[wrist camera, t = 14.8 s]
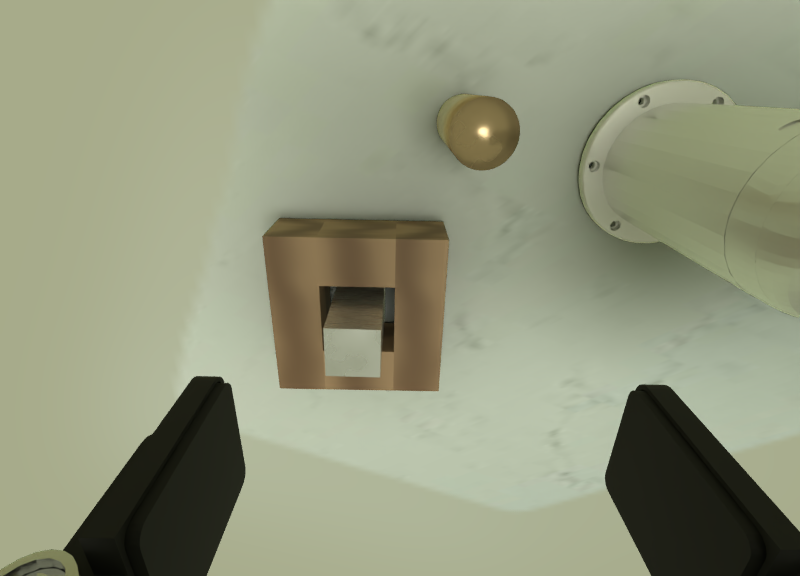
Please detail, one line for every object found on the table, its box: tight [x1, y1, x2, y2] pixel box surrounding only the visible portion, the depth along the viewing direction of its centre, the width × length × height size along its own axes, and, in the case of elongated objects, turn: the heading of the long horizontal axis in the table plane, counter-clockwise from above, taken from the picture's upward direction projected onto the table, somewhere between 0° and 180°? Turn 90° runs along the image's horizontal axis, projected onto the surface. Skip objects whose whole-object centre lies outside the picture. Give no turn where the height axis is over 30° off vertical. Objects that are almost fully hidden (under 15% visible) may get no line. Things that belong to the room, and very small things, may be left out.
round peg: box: [437, 94, 520, 170], centre depth 29 cm, size 4×4×10 cm
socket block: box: [262, 218, 449, 391], centre depth 38 cm, size 14×14×5 cm
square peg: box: [323, 286, 385, 377], centre depth 36 cm, size 4×4×10 cm
